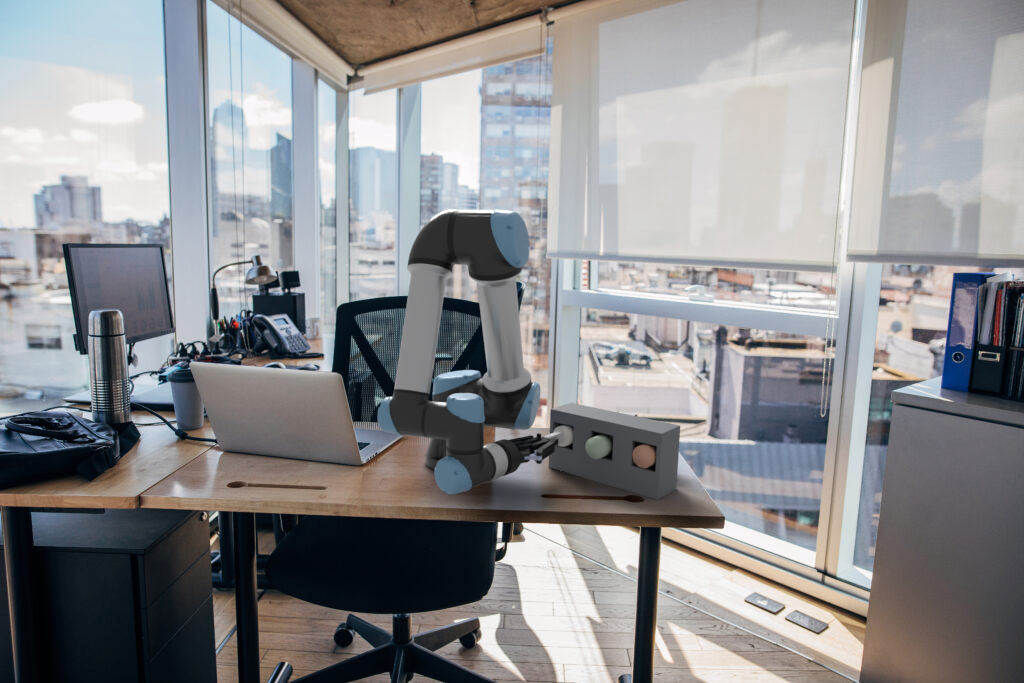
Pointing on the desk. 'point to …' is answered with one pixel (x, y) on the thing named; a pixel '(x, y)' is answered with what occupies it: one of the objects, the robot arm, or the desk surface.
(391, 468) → the desk surface
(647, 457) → the terracotta button
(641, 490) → the grey button box
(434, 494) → the desk surface
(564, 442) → the cream button
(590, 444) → the sage button
